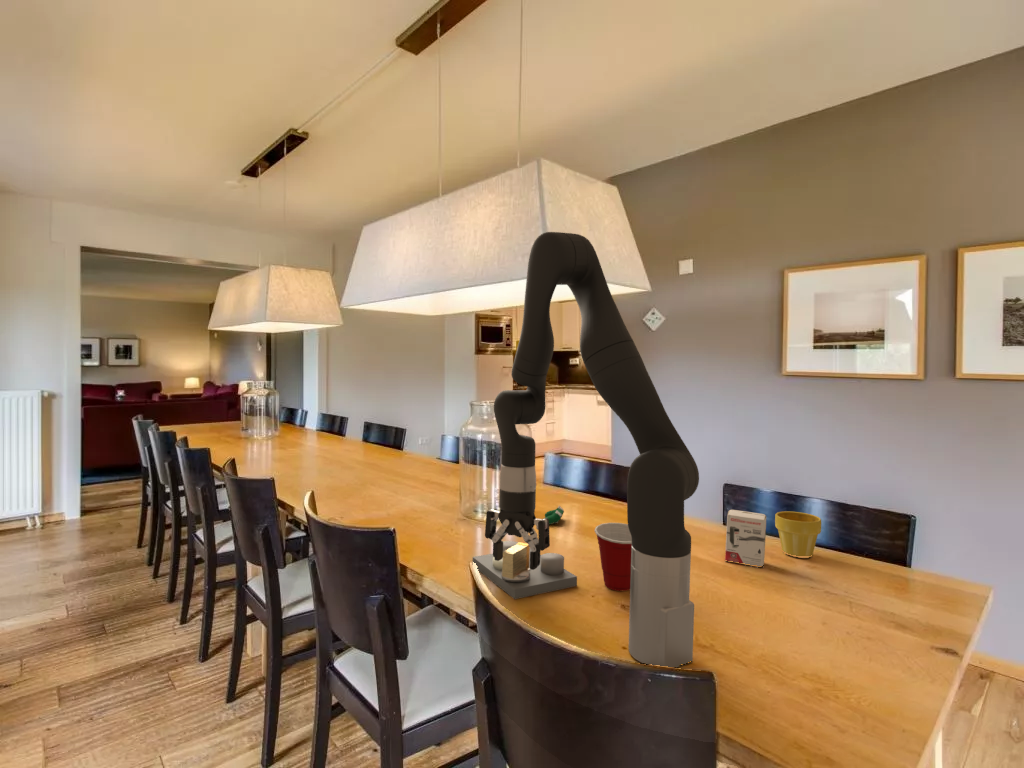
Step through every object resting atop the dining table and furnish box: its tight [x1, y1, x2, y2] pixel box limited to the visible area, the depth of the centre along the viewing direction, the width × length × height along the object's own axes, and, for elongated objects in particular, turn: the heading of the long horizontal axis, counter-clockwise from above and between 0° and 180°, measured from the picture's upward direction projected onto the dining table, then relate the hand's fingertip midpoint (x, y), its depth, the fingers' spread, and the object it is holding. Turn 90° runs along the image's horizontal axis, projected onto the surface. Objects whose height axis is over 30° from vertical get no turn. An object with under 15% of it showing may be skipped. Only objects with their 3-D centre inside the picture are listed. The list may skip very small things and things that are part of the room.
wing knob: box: [501, 541, 530, 583], centre depth 112 cm, size 7×6×6 cm
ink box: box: [724, 509, 767, 567], centre depth 130 cm, size 9×5×12 cm, turn 62°
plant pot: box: [774, 510, 822, 556], centre depth 136 cm, size 10×10×10 cm
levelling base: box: [472, 540, 578, 600], centre depth 119 cm, size 20×15×5 cm
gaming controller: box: [543, 505, 565, 525], centre depth 161 cm, size 9×4×6 cm
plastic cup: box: [594, 522, 632, 592], centre depth 114 cm, size 11×11×12 cm
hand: (516, 563), depth 112 cm, fingers open, 8 cm apart
